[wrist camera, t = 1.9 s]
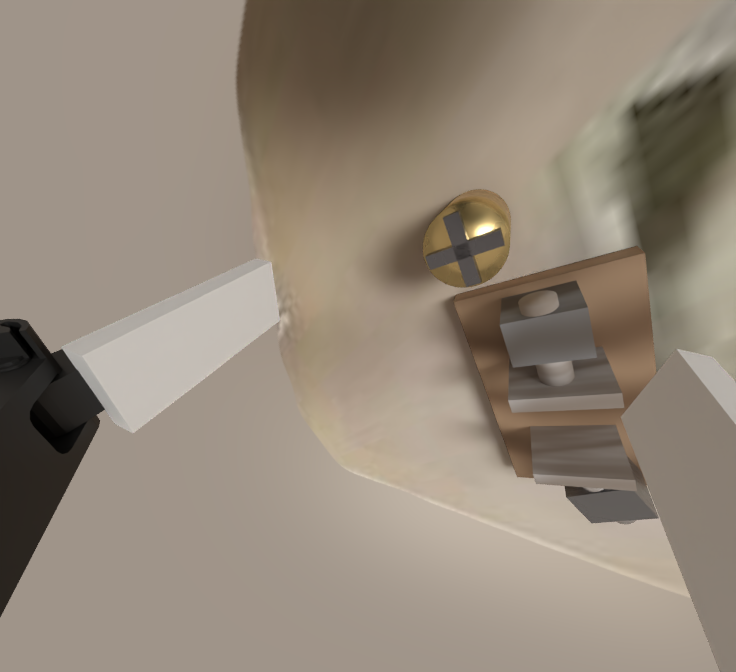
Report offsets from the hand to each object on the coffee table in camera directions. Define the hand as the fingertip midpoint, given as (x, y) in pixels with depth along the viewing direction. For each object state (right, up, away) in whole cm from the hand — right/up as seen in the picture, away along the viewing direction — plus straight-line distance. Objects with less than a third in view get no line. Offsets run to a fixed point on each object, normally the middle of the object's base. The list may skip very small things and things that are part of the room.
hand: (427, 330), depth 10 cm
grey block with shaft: (+19, -12, +17) cm, 28 cm away
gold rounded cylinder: (+6, +8, +12) cm, 16 cm away
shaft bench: (+15, -5, +16) cm, 22 cm away
